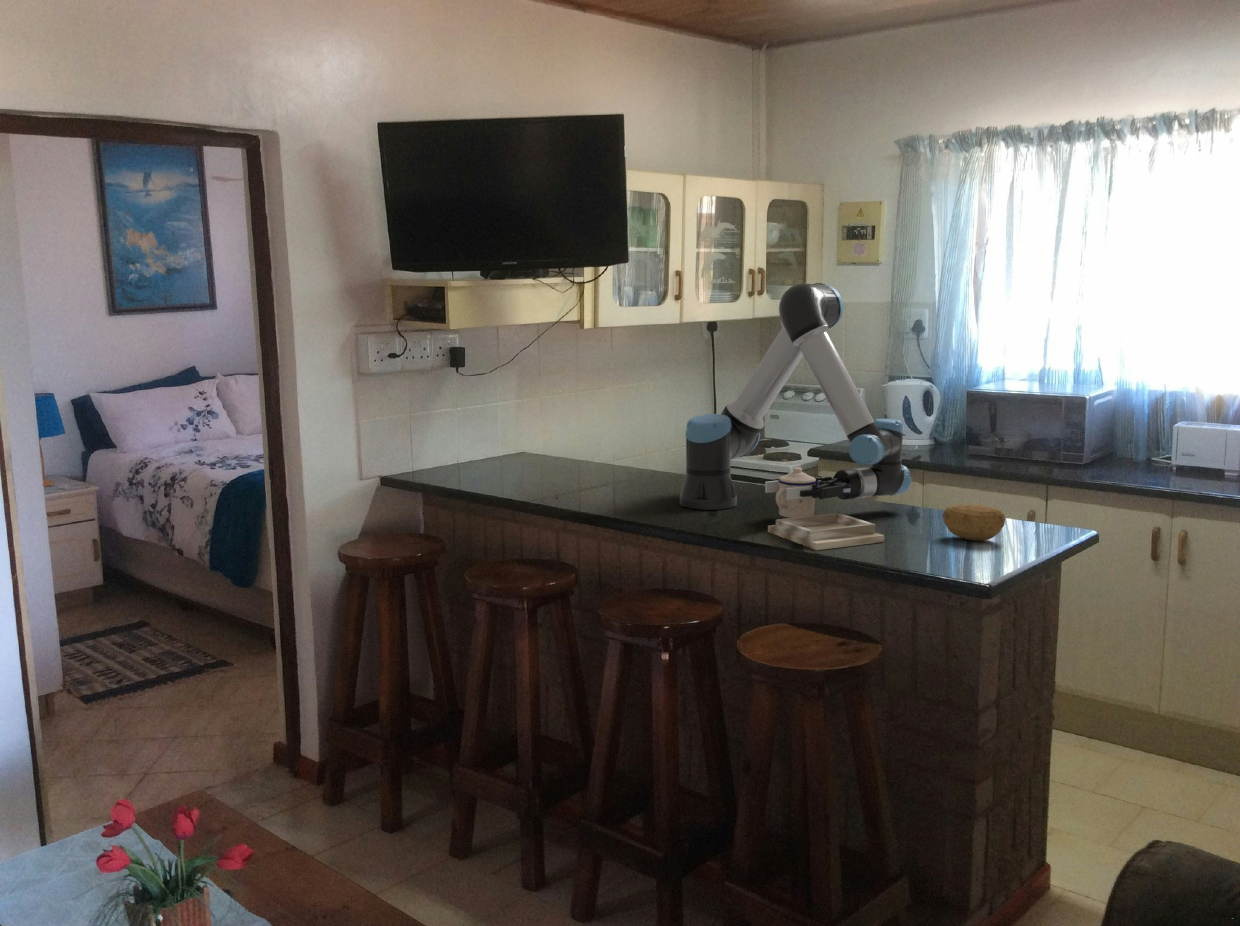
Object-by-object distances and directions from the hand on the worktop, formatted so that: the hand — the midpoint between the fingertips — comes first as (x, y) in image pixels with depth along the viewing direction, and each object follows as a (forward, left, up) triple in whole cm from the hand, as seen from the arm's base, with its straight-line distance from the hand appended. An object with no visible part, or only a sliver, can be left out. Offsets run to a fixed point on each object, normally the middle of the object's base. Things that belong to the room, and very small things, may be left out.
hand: (776, 490), depth 261 cm
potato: (+34, +30, -8) cm, 46 cm away
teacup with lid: (0, +4, -7) cm, 8 cm away
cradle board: (+17, +2, -8) cm, 19 cm away
